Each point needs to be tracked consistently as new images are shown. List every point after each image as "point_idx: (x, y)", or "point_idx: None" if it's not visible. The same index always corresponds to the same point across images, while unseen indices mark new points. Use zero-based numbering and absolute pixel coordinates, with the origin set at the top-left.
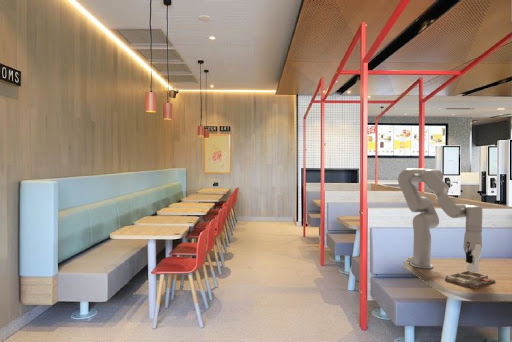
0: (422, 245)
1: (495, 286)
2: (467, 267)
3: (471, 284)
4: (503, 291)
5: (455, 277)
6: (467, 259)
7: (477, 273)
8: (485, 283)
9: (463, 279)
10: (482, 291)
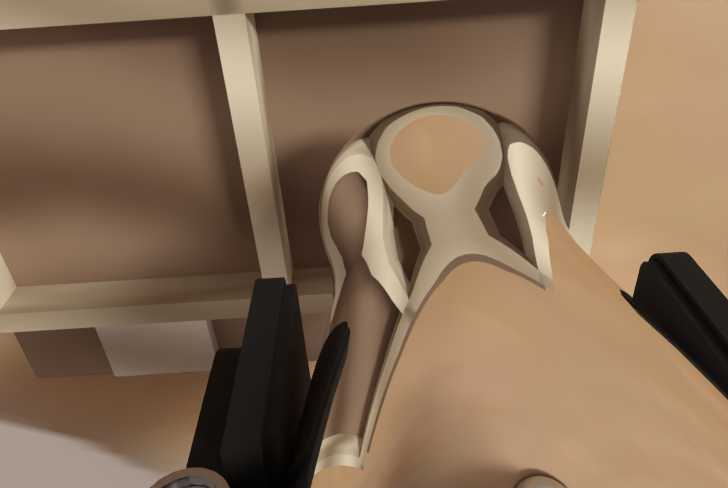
0: None
1: None
2: (335, 195)
3: (72, 329)
4: None
5: (91, 37)
6: (216, 391)
7: (578, 165)
8: (311, 357)
9: (144, 167)
10: (85, 418)
